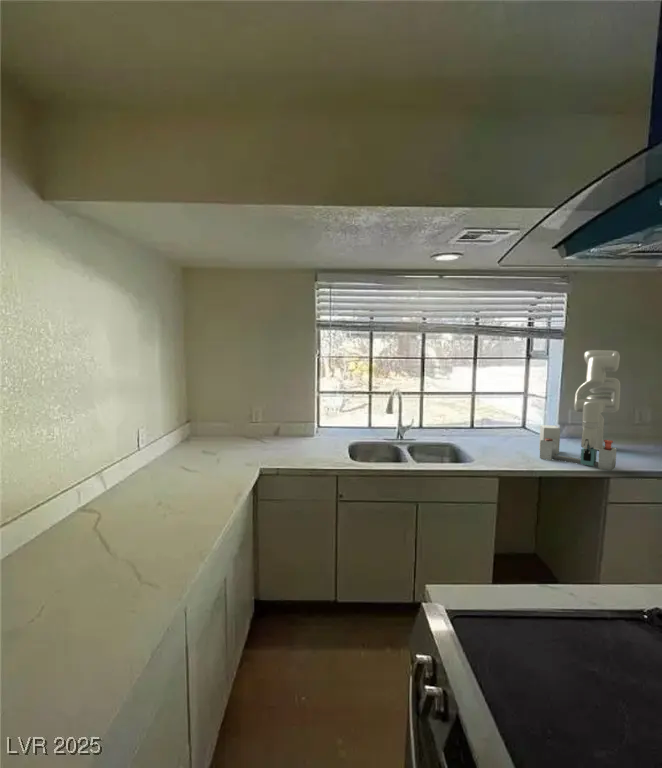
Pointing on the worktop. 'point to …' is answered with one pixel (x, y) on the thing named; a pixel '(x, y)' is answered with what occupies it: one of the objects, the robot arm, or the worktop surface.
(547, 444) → the cabinet
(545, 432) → the supplement box
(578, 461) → the rail
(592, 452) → the carriage
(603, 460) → the cabinet
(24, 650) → the worktop surface
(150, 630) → the worktop surface
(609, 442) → the knob
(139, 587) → the worktop surface
